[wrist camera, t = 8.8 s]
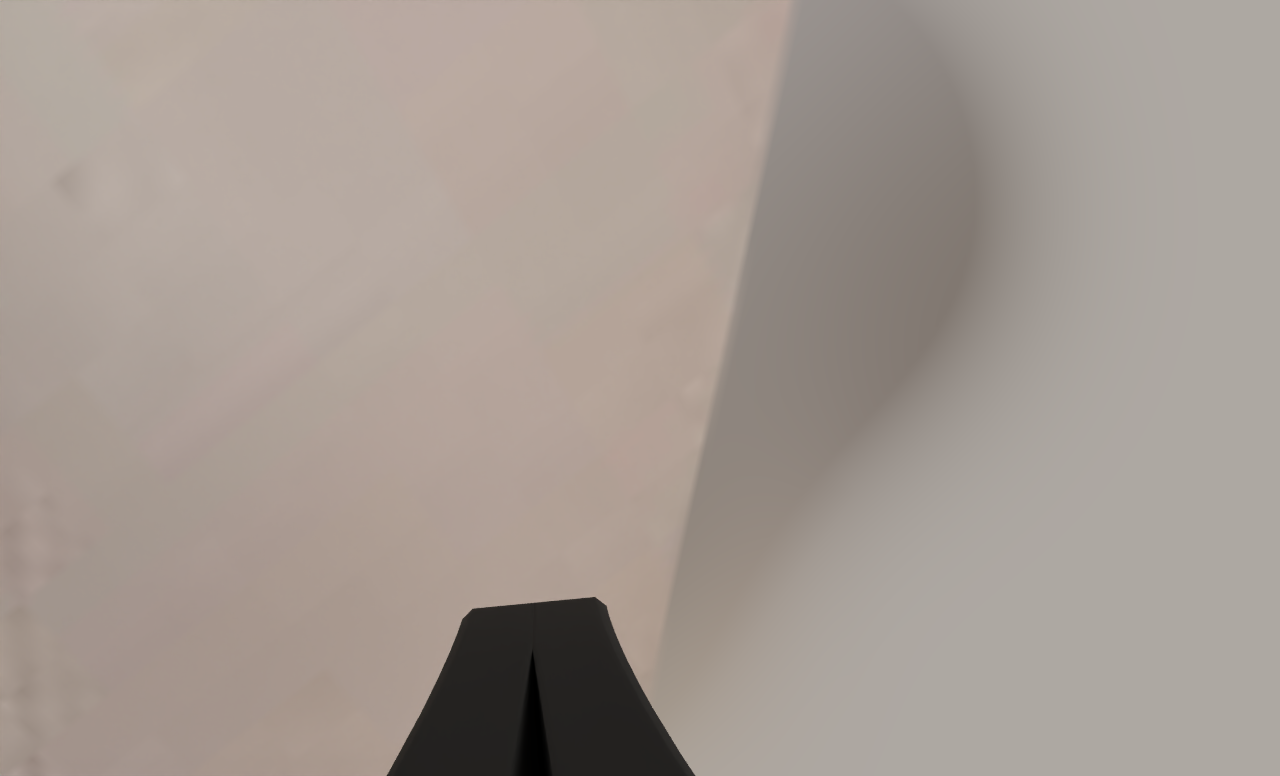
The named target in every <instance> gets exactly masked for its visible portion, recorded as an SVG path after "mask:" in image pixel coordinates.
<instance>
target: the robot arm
mask: <svg viewBox="0 0 1280 776" xmlns="http://www.w3.org/2000/svg"><path fill="white" fill-rule="evenodd" d="M387 776H695V775H694V773H693V772H692V770H691V769H690V767H689V766H688V764H687V763H686V761H685V760H684V758H683V757H682V755H681V754H680V752H679V750H678V749H677V747H676V745H675V744H674V742H673V741H672V739H671V737H670V736H669V734H668V732H667V731H666V729H665V727H664V726H663V724H662V723H661V721H660V719H659V718H658V716H657V714H656V713H655V711H654V709H653V708H652V706H651V704H650V702H649V701H648V699H647V697H646V695H645V694H644V692H643V690H642V688H641V686H640V684H639V682H638V681H637V679H636V677H635V675H634V673H633V671H632V669H631V667H630V665H629V663H628V661H627V659H626V657H625V655H624V652H623V650H622V648H621V646H620V644H619V641H618V639H617V636H616V634H615V632H614V629H613V626H612V623H611V621H610V618H609V614H608V610H607V606H606V605H605V604H603V603H602V602H601V601H599V600H598V599H597V598H596V597H591V598H581V599H570V600H560V601H549V602H539V603H528V604H518V605H507V606H497V607H486V608H476V609H472V610H471V611H470V612H469V613H468V614H467V615H466V616H465V617H464V618H463V619H462V622H461V625H460V628H459V630H458V633H457V636H456V639H455V641H454V643H453V646H452V648H451V651H450V653H449V655H448V658H447V660H446V662H445V664H444V667H443V669H442V671H441V673H440V675H439V678H438V680H437V682H436V684H435V686H434V688H433V690H432V692H431V694H430V696H429V698H428V700H427V702H426V704H425V706H424V708H423V710H422V712H421V714H420V716H419V718H418V719H417V721H416V723H415V725H414V727H413V729H412V731H411V732H410V734H409V736H408V738H407V740H406V742H405V743H404V745H403V747H402V749H401V751H400V753H399V755H398V756H397V758H396V760H395V762H394V764H393V766H392V767H391V769H390V771H389V773H388V774H387Z"/></svg>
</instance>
